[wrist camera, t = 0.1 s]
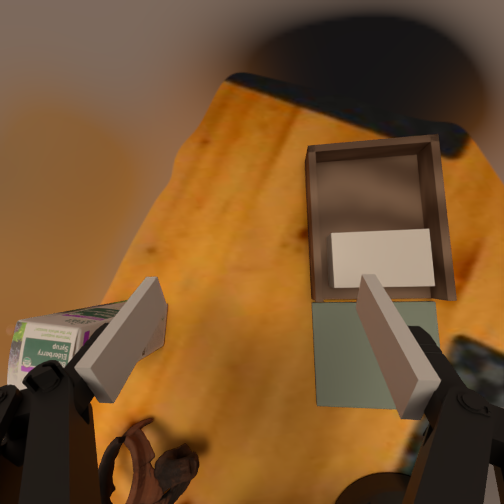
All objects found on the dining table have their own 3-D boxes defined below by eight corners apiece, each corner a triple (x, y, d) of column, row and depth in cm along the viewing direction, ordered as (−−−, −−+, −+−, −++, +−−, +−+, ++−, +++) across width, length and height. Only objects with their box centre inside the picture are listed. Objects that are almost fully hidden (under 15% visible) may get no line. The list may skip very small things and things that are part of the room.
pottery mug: (152, 510, 30) (83, 547, 24) (151, 422, 36) (94, 433, 29) (225, 495, 26) (166, 535, 20) (212, 399, 32) (162, 407, 25)
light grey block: (418, 285, 27) (435, 286, 24) (329, 286, 29) (334, 287, 26) (413, 233, 28) (429, 228, 25) (326, 237, 29) (331, 233, 26)
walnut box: (432, 296, 28) (456, 300, 24) (311, 298, 30) (316, 301, 26) (417, 152, 30) (438, 134, 26) (304, 161, 32) (308, 145, 28)
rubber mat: (443, 409, 27) (446, 411, 26) (316, 403, 29) (317, 405, 28) (432, 301, 28) (435, 301, 28) (311, 302, 30) (312, 302, 29)
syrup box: (169, 302, 32) (78, 323, 18) (164, 347, 32) (67, 406, 17) (130, 299, 33) (13, 317, 19) (125, 342, 32) (0, 396, 18)
